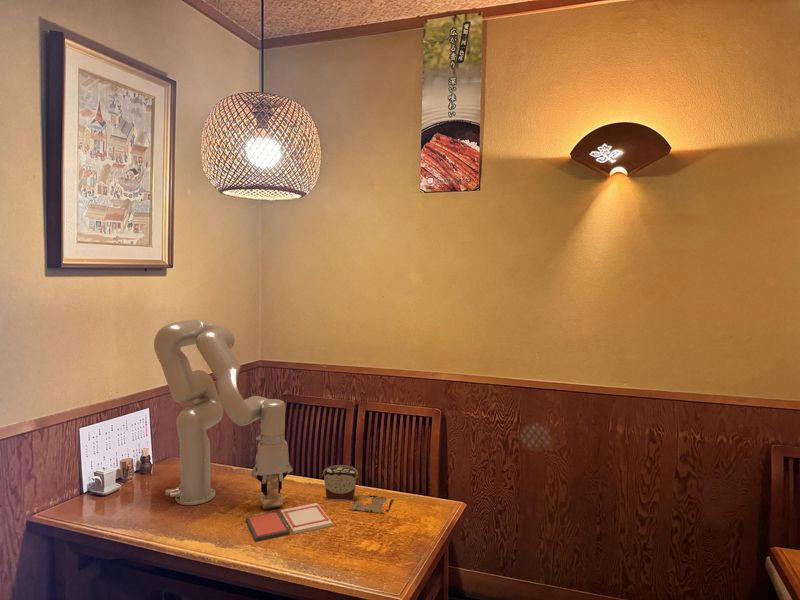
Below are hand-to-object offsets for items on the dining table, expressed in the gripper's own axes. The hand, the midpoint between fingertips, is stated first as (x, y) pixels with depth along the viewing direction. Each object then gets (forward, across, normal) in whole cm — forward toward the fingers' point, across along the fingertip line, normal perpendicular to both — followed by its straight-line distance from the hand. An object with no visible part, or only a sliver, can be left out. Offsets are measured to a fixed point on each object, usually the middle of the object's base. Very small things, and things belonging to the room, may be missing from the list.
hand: (271, 492), depth 176 cm
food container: (+4, +24, -2) cm, 24 cm away
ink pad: (+5, -4, -14) cm, 15 cm away
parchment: (+4, +31, -12) cm, 33 cm away
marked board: (+4, +8, -14) cm, 16 cm away
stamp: (+4, 0, 0) cm, 4 cm away
